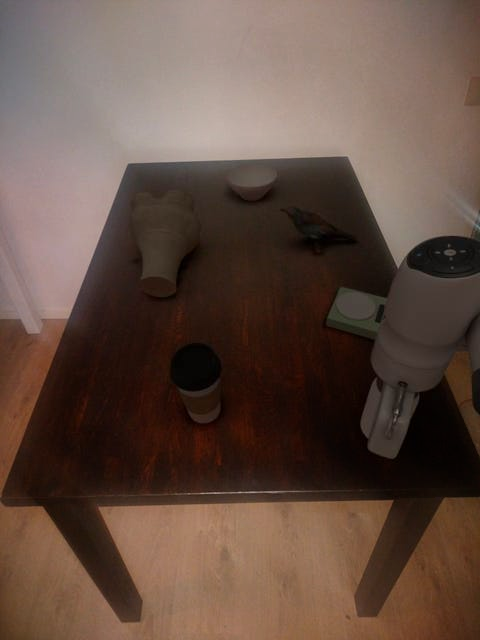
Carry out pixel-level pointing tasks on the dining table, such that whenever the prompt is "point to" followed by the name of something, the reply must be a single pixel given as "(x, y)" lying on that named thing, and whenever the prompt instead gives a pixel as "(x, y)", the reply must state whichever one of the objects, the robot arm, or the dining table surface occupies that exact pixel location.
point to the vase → (163, 237)
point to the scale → (357, 312)
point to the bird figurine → (315, 227)
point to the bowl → (252, 180)
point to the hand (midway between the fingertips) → (386, 412)
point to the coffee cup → (198, 380)
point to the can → (372, 404)
